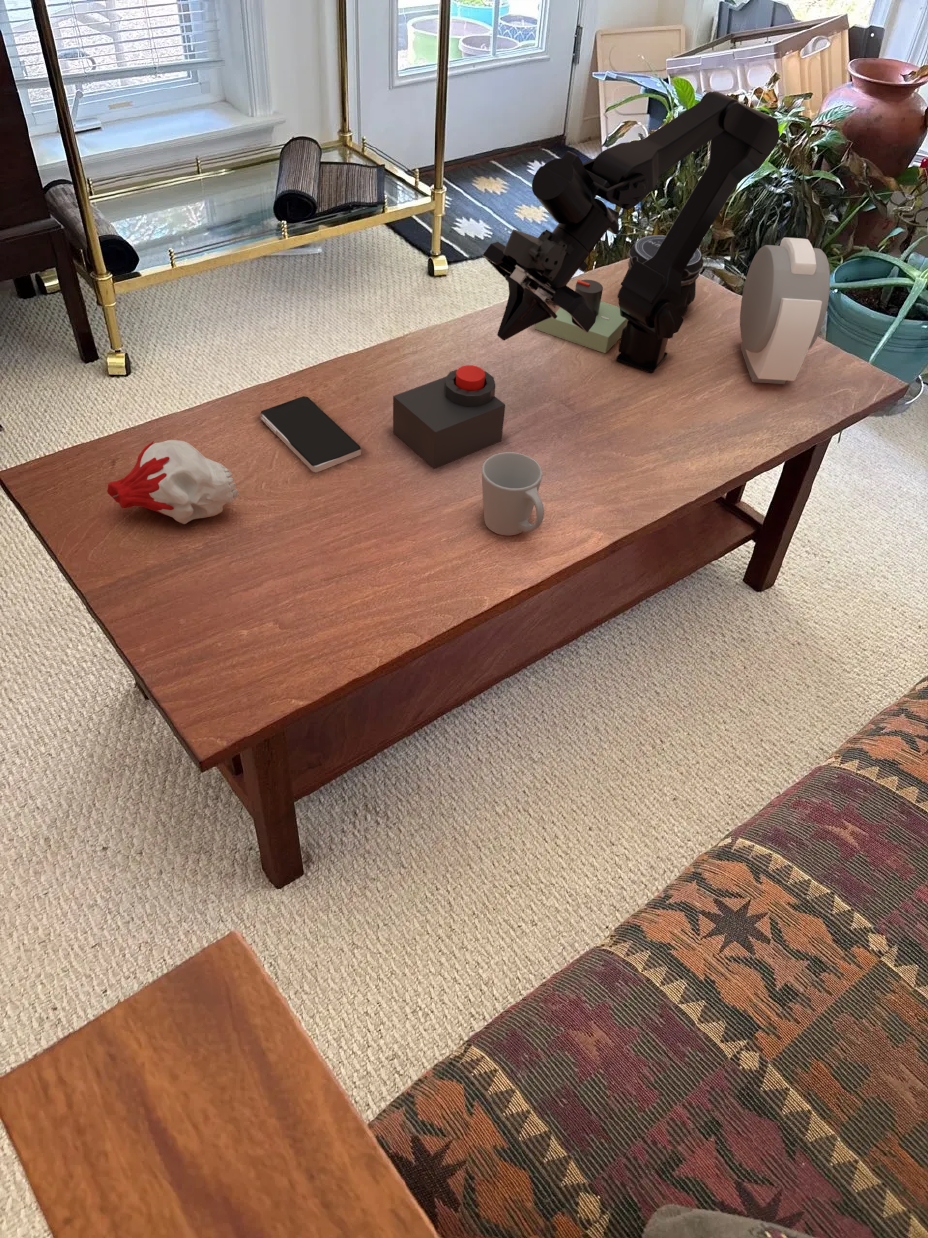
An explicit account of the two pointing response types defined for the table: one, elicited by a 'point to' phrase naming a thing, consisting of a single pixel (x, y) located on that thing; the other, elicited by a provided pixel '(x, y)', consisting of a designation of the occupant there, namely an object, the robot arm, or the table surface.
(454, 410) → the button housing
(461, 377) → the power button
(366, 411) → the table surface
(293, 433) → the smartphone
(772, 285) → the alarm clock
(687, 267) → the container
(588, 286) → the timer knob
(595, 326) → the timer panel
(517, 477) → the cup
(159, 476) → the candle
